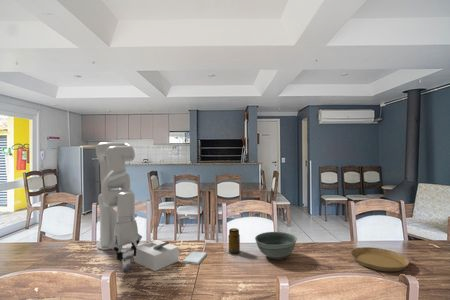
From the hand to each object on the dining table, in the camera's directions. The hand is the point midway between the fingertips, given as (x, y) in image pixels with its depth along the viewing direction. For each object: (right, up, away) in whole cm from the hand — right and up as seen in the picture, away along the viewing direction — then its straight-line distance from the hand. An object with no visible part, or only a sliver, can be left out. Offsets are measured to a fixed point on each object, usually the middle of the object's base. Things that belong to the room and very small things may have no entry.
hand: (126, 257), depth 120 cm
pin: (0, -6, 0) cm, 6 cm away
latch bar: (+15, +3, +6) cm, 16 cm away
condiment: (+51, -5, +19) cm, 55 cm away
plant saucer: (+119, -5, +5) cm, 119 cm away
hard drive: (+30, -6, +12) cm, 33 cm away
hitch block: (+11, -6, +9) cm, 15 cm away
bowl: (+71, -5, +13) cm, 73 cm away
